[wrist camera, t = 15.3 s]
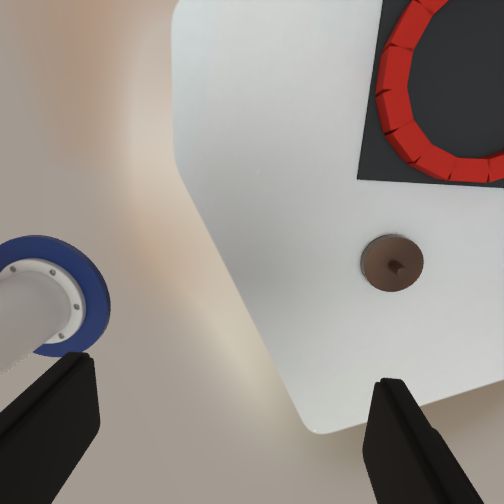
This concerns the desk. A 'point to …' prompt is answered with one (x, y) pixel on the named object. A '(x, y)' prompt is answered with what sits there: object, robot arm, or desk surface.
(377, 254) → the ring holder
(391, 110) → the ring
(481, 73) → the mat
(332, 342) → the desk surface
